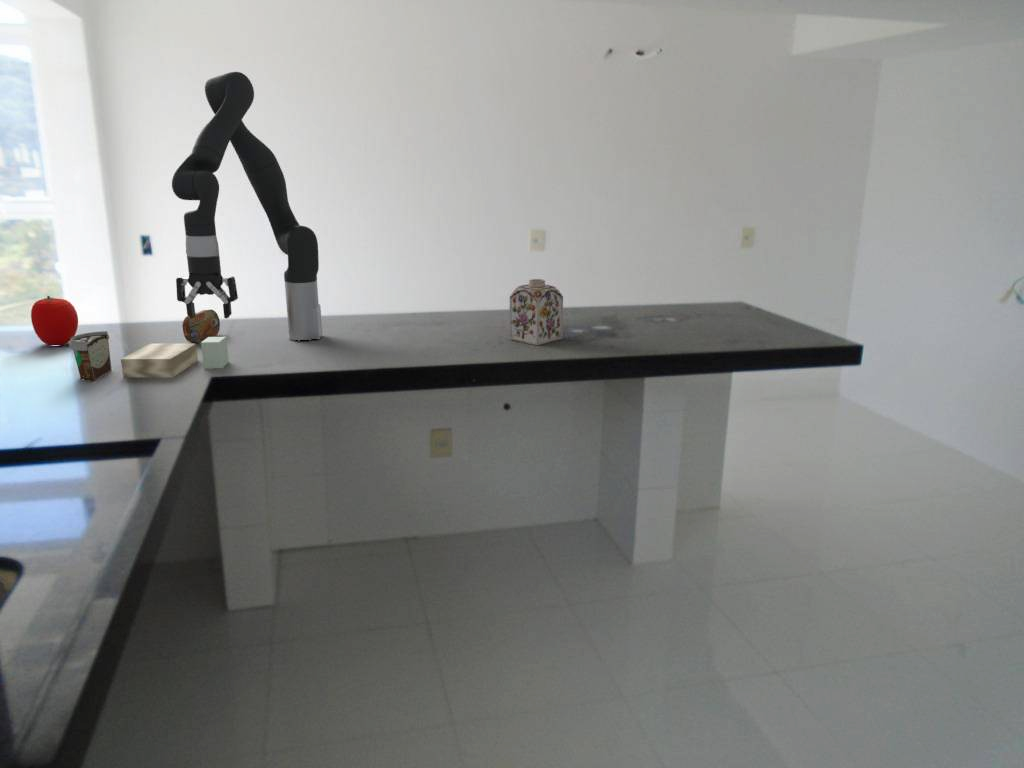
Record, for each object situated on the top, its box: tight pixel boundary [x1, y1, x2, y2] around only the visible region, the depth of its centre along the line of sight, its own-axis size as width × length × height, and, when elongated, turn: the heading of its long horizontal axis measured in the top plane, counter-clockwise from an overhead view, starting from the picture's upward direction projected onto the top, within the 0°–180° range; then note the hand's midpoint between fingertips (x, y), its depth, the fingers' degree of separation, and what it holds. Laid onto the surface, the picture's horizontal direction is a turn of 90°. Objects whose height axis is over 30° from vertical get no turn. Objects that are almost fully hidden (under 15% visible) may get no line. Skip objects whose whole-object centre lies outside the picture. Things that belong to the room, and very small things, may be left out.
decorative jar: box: [508, 278, 564, 346], centre depth 218 cm, size 12×12×18 cm
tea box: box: [200, 336, 230, 370], centre depth 191 cm, size 4×6×7 cm
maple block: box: [120, 343, 199, 378], centre depth 188 cm, size 12×16×5 cm
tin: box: [182, 309, 221, 344], centre depth 218 cm, size 15×3×8 cm, turn 168°
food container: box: [69, 330, 113, 382], centre depth 180 cm, size 12×6×10 cm, turn 5°
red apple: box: [30, 295, 79, 346], centre depth 211 cm, size 13×11×14 cm
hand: (209, 317), depth 188 cm, fingers open, 8 cm apart
